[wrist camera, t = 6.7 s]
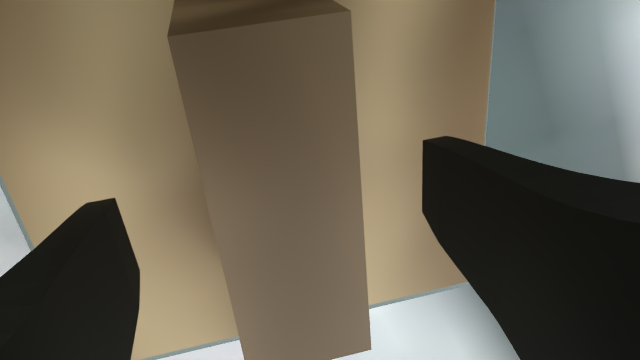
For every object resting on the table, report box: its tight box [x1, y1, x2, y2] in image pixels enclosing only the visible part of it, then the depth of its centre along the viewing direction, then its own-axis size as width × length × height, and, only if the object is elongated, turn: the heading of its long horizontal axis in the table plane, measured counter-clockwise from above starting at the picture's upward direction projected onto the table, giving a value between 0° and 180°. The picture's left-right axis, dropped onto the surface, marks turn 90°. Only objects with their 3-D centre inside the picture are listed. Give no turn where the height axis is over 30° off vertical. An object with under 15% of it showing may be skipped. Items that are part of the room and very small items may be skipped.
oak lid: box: [0, 0, 495, 360], centre depth 12 cm, size 13×13×5 cm
